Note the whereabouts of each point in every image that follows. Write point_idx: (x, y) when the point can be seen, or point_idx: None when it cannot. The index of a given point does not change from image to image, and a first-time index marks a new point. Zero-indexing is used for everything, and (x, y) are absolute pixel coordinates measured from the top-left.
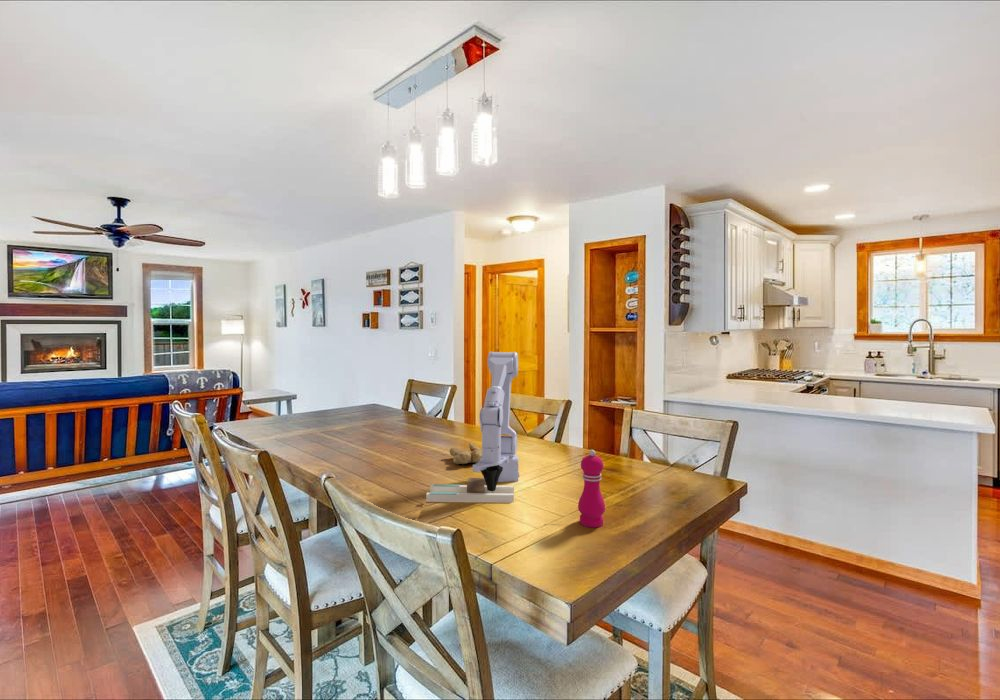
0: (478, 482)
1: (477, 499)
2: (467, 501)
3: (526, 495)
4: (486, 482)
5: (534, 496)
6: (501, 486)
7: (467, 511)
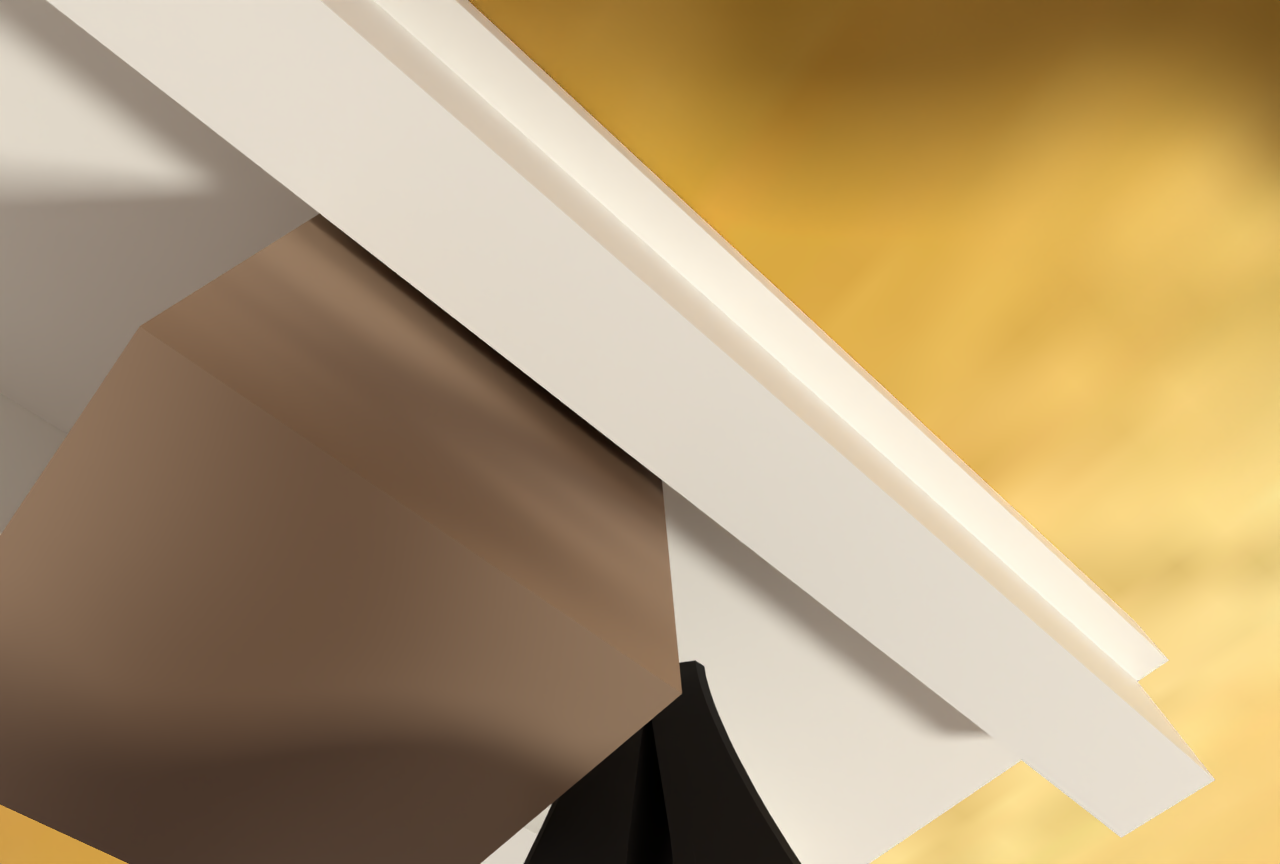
0: None
1: None
2: None
3: (1214, 750)
4: (560, 833)
5: (1242, 829)
6: (997, 690)
7: None
